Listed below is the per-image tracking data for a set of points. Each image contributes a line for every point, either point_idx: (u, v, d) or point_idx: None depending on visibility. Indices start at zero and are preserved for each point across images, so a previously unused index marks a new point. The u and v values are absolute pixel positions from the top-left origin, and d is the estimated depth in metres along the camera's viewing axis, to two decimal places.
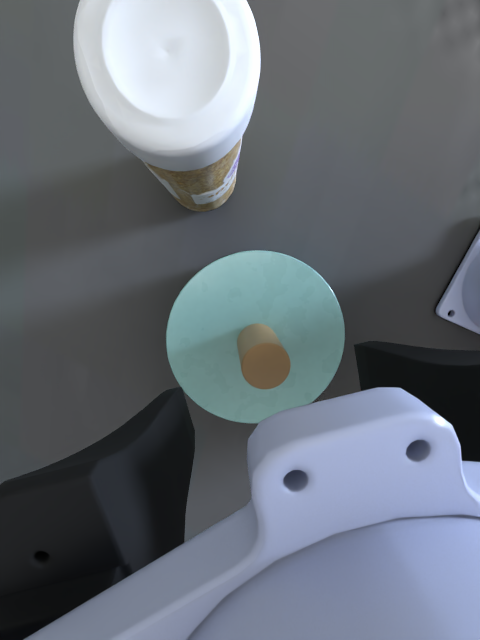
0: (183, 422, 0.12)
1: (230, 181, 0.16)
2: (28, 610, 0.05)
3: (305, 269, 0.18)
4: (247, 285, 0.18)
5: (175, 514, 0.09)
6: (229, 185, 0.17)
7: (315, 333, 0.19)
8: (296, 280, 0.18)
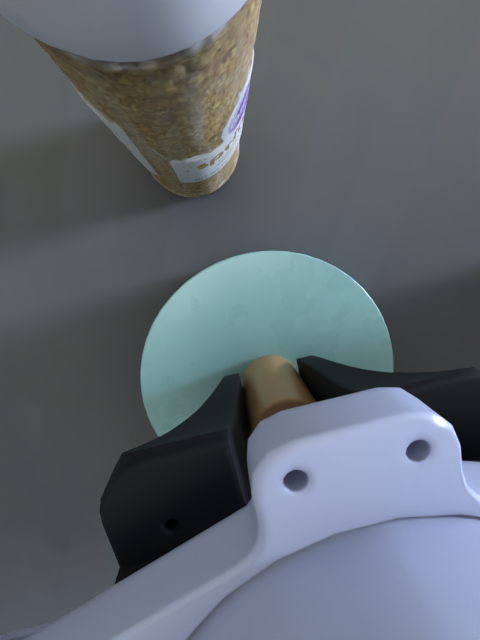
0: (245, 407, 0.12)
1: (232, 145, 0.11)
2: None
3: (340, 278, 0.13)
4: (256, 301, 0.13)
5: None
6: (230, 153, 0.11)
7: None
8: (327, 293, 0.13)
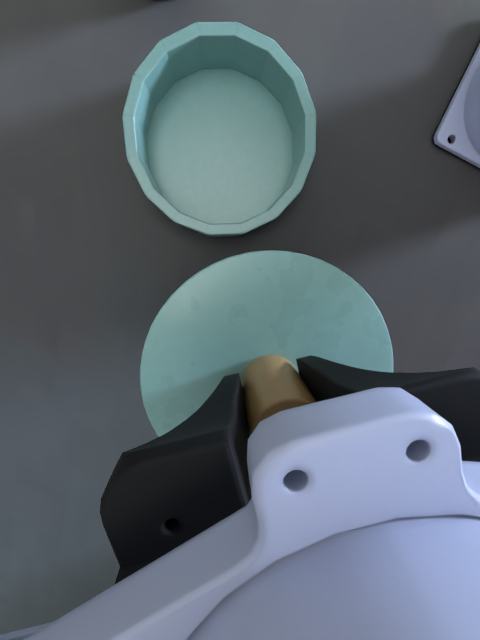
0: None
1: None
2: None
3: (340, 277, 0.13)
4: (256, 301, 0.13)
5: None
6: None
7: None
8: (327, 293, 0.13)
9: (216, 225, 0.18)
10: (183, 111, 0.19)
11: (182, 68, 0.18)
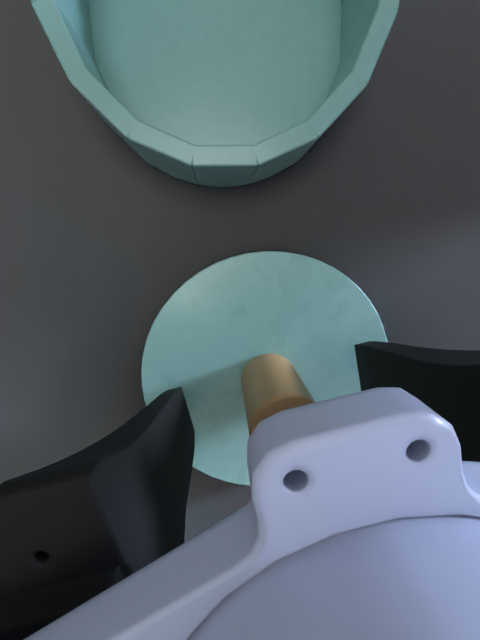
0: (183, 422, 0.12)
1: None
2: (28, 610, 0.05)
3: (337, 277, 0.13)
4: (255, 300, 0.13)
5: (175, 514, 0.09)
6: None
7: (349, 366, 0.14)
8: (324, 293, 0.13)
9: (207, 148, 0.09)
10: None
11: None
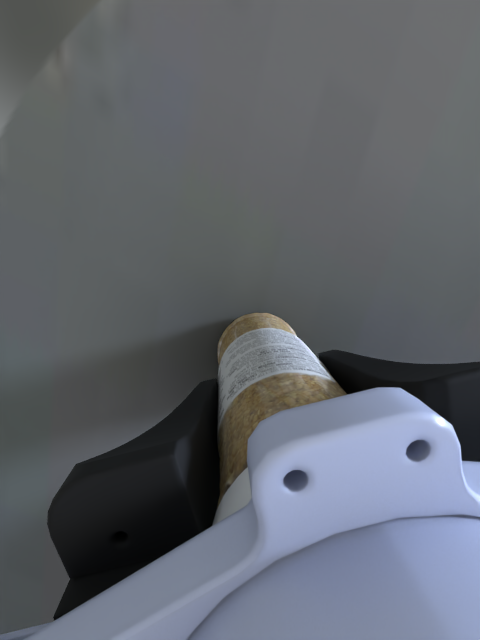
0: None
1: None
2: None
3: None
4: None
5: None
6: None
7: None
8: None
9: None
10: None
11: None
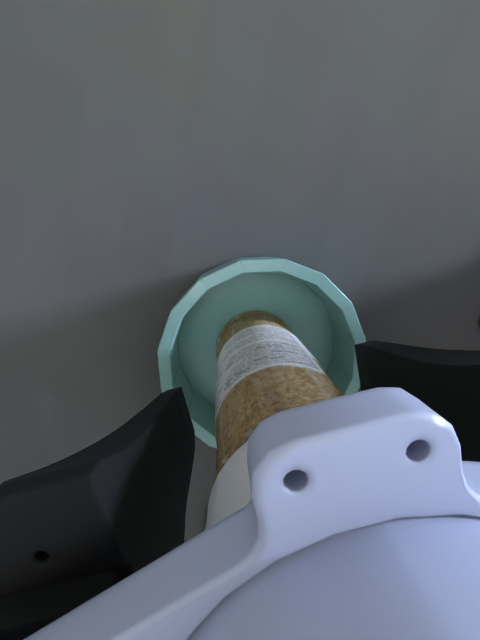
0: (183, 422, 0.12)
1: None
2: (28, 610, 0.05)
3: None
4: None
5: (175, 514, 0.09)
6: None
7: None
8: None
9: None
10: (217, 309, 0.18)
11: None
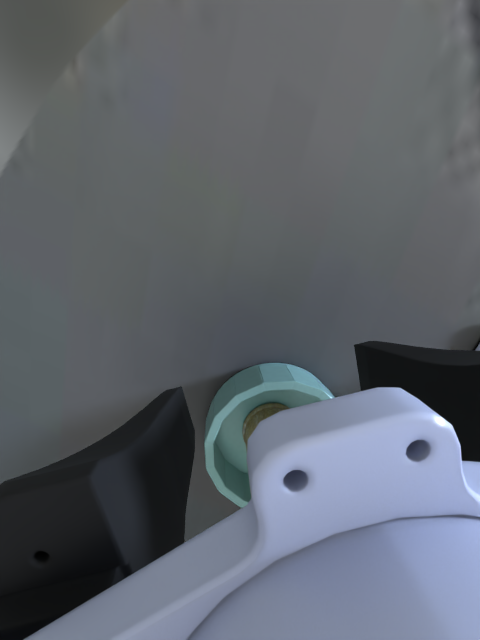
0: (183, 422, 0.12)
1: None
2: (28, 610, 0.05)
3: None
4: None
5: (175, 514, 0.09)
6: None
7: None
8: None
9: None
10: (243, 401, 0.24)
11: None
